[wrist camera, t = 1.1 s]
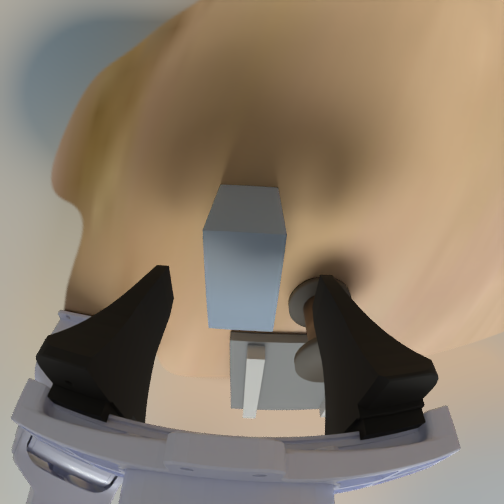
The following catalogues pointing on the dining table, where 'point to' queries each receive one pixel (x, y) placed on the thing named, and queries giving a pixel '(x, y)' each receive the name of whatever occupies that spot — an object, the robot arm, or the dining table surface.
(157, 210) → the dining table surface
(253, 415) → the grey railed square plate
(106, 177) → the dining table surface
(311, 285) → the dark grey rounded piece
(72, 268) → the dining table surface
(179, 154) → the dining table surface
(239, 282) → the blue-grey block
